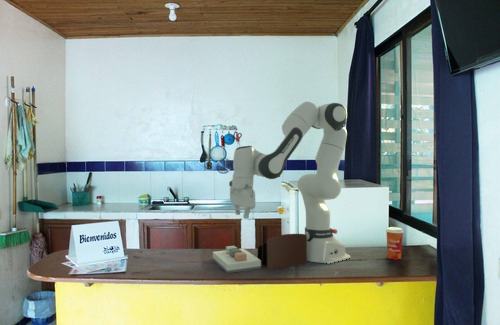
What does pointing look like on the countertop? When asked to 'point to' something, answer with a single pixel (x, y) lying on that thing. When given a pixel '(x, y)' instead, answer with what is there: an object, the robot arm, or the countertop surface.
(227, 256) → the cream key base
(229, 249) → the sage key
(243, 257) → the terracotta key
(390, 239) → the paper cup
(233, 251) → the charcoal key
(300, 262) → the letter holder
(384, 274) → the countertop surface
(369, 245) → the countertop surface
